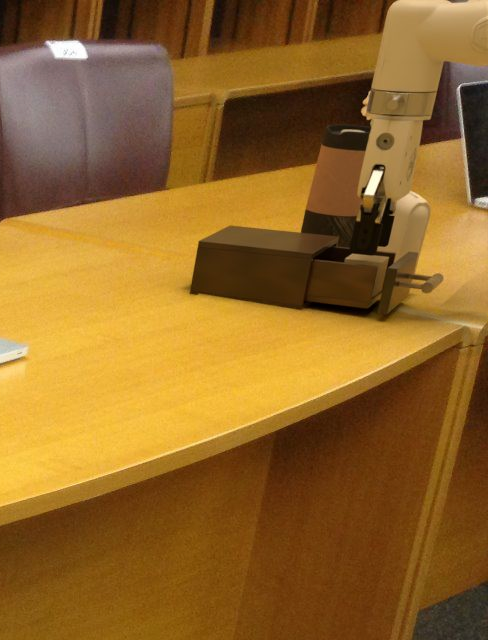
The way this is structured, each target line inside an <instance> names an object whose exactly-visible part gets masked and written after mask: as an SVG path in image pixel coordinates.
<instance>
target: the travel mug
mask: <svg viewBox="0 0 488 640" xmlns="http://www.w3.org/2000/svg"><path fill="white" fill-rule="evenodd" d="M371 128H372V127H371V126H365V125H356V124H355V125H354V124H329V125H326V127H325V130H324V133H323V137H322V141H321V145H320V149H319V154H318V157H317V161H316V166H315V169H314V173H313V178H312V181H311V185H310V189H309V192H308V193H309V194H308V198H307V201H306V205H305V210H304V214H303V218H302V225H301V229H300V233H309V234H319V235H328V236H338V237H339V240H338V245H337V246H338V247H347V248H350V244H351V239H352V235H353V230H354V225H355V222H356V219H357V215H358V212H359V208H360V205H361V202H362V199H360V198H359V197H358V195H357V192H358V185H359V180H360V174H361V170H362V165H363V160H364V156H365V152H366V148H367V144H368V139H369V134H370V131H371Z"/></svg>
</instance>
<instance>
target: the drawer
mask: <svg viewBox="0 0 488 640" xmlns="http://www.w3.org/2000/svg"><path fill="white" fill-rule="evenodd" d="M349 249H350V248H347V247H338V246H331V247H330V248H328V249H327V250H325V251H324V252H322V253H320V254H319V255H317V256H316V257H314V258H313V261H312V266H311V271H310V276H309V281H308V285H307V290H306V295H305V300H304V301H311V303H318V304H319V303H320V304H329V305H335V306H344V307H352V308H359V309H369V308H370V307H372V306H373V305H374V304H375V303H377V301H379V304H378V308H377V314H381V315H388V314H389V313H391V311H393V310H394V309H395V308H396V307H397V306H399V305H400V304H401V303H402V302H403V301H404V300H405V299H406V298H408V297H409V294H410V291H411V289H415V290H421V292H422V293H423V294H430V293H432V292H433V291H434V290H435V289H436V288H437V287H439V286H440V285H441V284H442V283H443V282H444V275H443V274H441V273H440V272H439V273H434V274H433V275H425V274H416V273H415V274H414V269H415V265H416V261H417V257H418V252H408V253H407V254H405V255H404V256H403V257H401V258H400V259H399V260H397V261H396V262H395V258H396V253H395V252H385V251H377V252H376V254H375V256H385V257H389V260H388V264H387V269H386V273H385V278H384V282H383V286H382V291H381V292H380V293H378V294H377V295H376V296H375V297H372V293H373V288H374V284H375V279H376V275H377V271H378V266H371V265H362V264H353V263H344V261H345V258H347V257H348V256H350V255H351V254H352V253H350V252H349ZM394 262H395V263H394ZM412 279H413V281H415V280H416V281H425V282H424V283H419V282H413V281H412Z"/></svg>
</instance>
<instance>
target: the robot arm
mask: <svg viewBox="0 0 488 640" xmlns="http://www.w3.org/2000/svg"><path fill="white" fill-rule="evenodd" d="M444 62H449V63H450V62H451V63H456V64H462V65H467V66H473V67H486V66H487V67H488V0H467V1H463V2H451V1H449V0H395V1H394V2H393V3H392V4H391V5H390V6H389V8H388V10H387V14H386V17H385V21H384V26H383V30H382V36H381V41H380V45H379V50H378V55H377V59H376V64H375V68H374V73H373V78H372V82H371V88H370V90H369V92H370V96H369V101H368V105H367V110H366V115H365V116H364V117H366V118H367V117H369V118H374V120H373V124H372V128H371V131H370V134H369V139H368V144H367V148H366V152H365V156H364V160H363V165H362V170H361V174H360V180H359V185H358V192H357V195H358V197H359V198H360V199H362V202H361V205H360V208H359V212H358V215H357V219H356V222H355V225H354V230H353V235H352V239H351V244H350V249H349V252H350V253H352V254H361V255H370V256H373V255H375V254H376V252H377V248H378V246H379V247H386V246H387V245H388V244H389V240H390V235H391V231H392V226H393V222H394V217H395V216H392V215H394V213H395V210H396V203H397V201H398V200H400V199H401V198H403V197H405V196H406V195H407V194H409V193H410V191H412V187H413V182H414V176H415V171H416V166H417V161H418V155H419V149H420V144H421V138H422V132H423V126H424V125H423V123H424V121H429V120H431V119H432V115H433V111H434V106H435V102H436V97H437V95H438V94H437V93H438V88H439V84H440V79H441V75H442V71H443V67H444Z"/></svg>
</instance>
